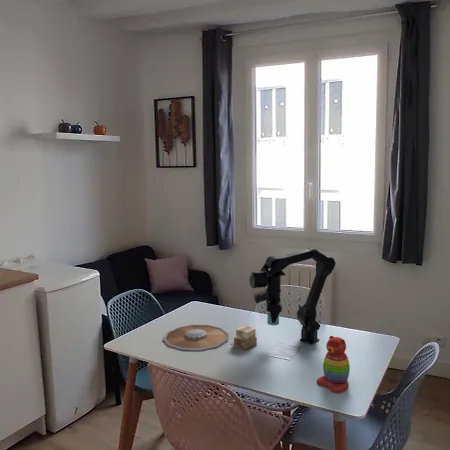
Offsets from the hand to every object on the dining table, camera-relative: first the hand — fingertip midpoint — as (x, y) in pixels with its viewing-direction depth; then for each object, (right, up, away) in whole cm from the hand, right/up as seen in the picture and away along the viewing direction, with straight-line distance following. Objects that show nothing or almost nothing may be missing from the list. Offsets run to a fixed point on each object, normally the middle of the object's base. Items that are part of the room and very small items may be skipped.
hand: (273, 320), depth 206 cm
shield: (-34, -11, +11) cm, 37 cm away
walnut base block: (-12, -11, +2) cm, 17 cm away
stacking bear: (+19, -17, -33) cm, 42 cm away
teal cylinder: (0, -1, 0) cm, 1 cm away
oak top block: (-12, -8, +1) cm, 14 cm away
